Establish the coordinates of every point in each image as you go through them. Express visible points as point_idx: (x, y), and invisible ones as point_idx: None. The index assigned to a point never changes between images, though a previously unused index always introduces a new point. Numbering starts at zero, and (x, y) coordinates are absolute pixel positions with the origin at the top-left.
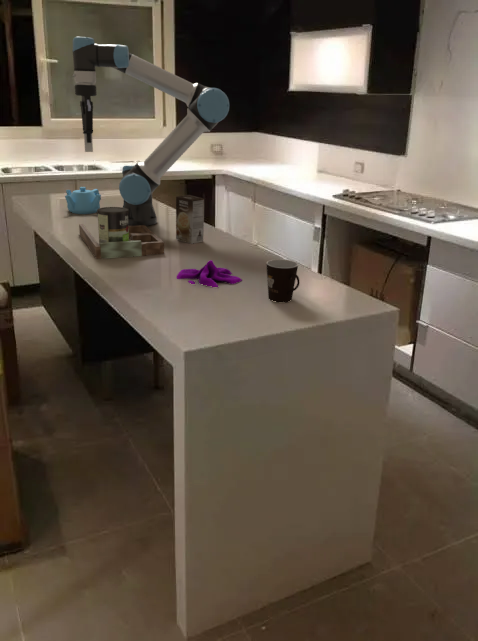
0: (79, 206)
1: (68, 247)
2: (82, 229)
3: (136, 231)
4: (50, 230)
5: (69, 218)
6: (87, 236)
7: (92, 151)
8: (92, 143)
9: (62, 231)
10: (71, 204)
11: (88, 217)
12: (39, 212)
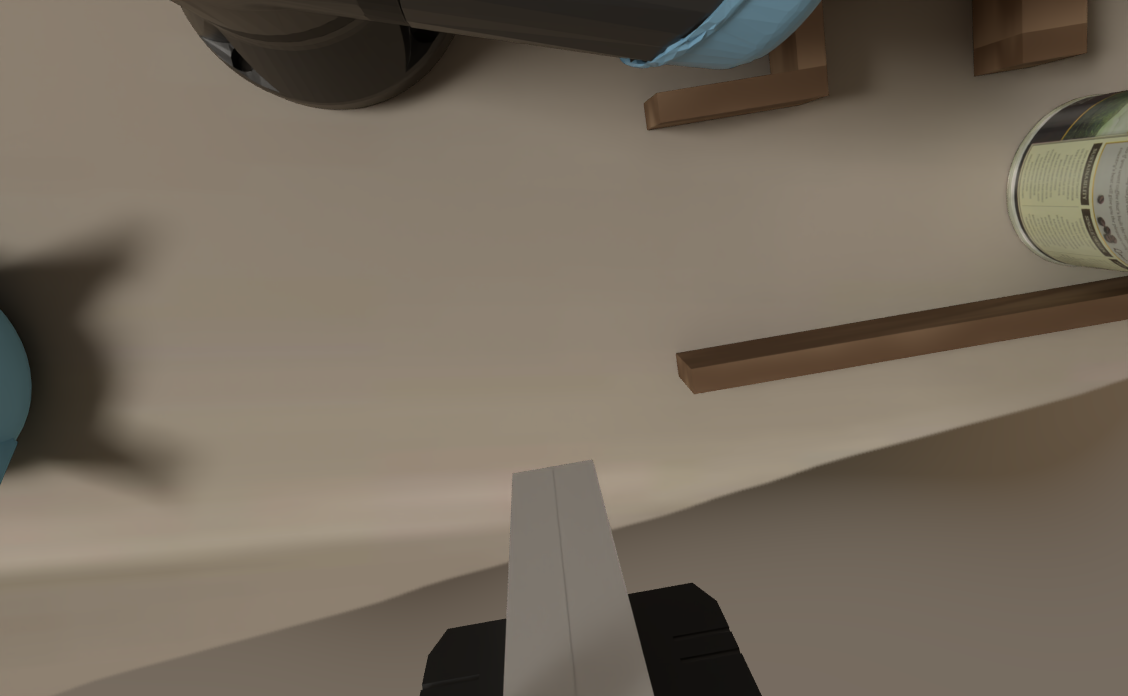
0: (4, 408)
1: (966, 423)
2: (828, 369)
3: None
4: None
5: (195, 453)
6: (1015, 336)
7: (592, 469)
8: (613, 541)
9: None
10: (4, 470)
11: (151, 331)
12: (4, 645)
